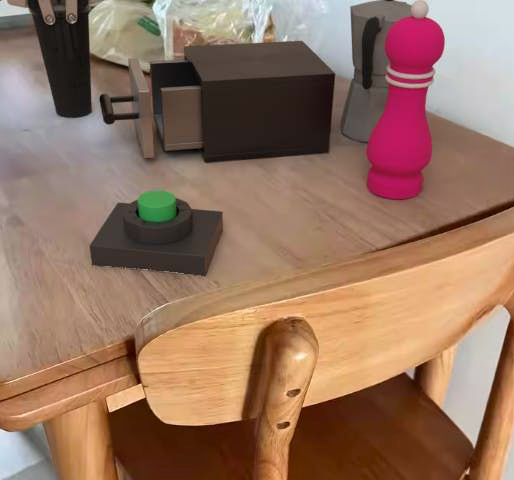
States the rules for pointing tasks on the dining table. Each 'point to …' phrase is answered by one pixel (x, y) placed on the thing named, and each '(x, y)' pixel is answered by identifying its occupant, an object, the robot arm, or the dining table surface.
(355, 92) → the coffeepot
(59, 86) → the drinking cup
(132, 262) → the control block
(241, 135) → the cabinet
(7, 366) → the dining table surface
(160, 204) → the button
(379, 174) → the pepper mill
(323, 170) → the dining table surface
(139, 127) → the drawer
